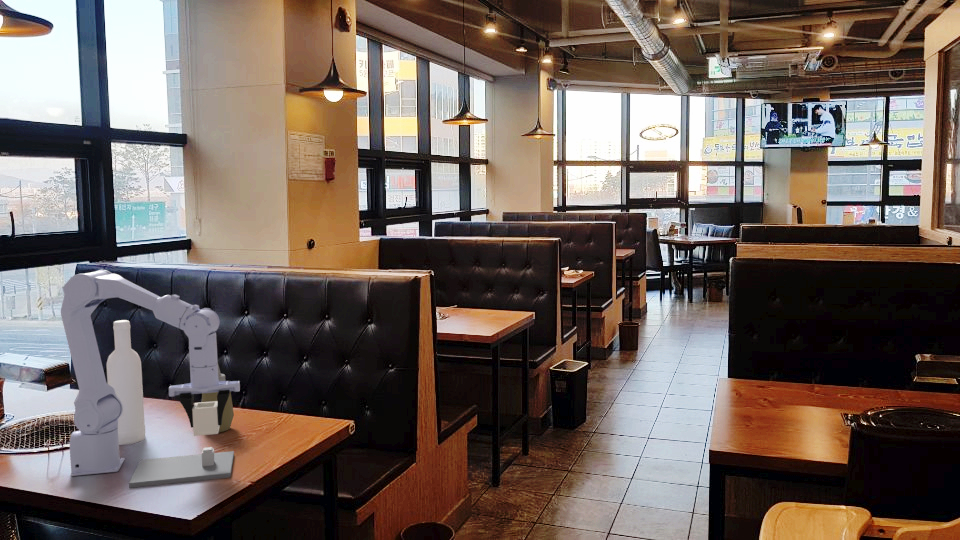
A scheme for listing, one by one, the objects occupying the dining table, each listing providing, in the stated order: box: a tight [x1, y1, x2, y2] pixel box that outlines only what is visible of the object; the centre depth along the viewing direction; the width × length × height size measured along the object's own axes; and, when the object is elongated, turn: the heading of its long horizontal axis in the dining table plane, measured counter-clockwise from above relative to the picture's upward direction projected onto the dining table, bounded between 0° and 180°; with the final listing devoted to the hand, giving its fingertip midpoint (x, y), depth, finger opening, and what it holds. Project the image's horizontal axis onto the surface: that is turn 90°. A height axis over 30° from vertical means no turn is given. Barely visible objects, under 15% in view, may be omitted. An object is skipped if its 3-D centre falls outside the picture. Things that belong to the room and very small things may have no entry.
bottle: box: [106, 319, 146, 446], centre depth 181 cm, size 8×8×30 cm
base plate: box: [128, 446, 235, 489], centre depth 162 cm, size 20×14×4 cm
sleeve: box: [192, 401, 220, 437], centre depth 162 cm, size 5×5×6 cm
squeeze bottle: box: [201, 364, 235, 433], centre depth 189 cm, size 8×8×18 cm
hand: (206, 425), depth 162 cm, fingers closed on sleeve, 5 cm apart
